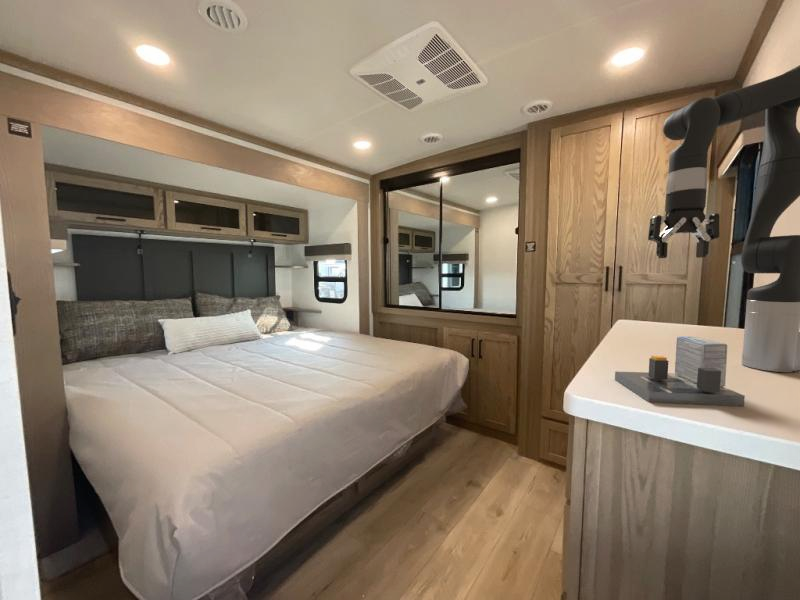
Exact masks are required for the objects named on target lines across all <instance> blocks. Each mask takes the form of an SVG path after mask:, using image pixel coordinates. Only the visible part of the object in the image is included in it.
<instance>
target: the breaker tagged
mask: <svg viewBox="0 0 800 600" xmlns="http://www.w3.org/2000/svg"><path fill="white" fill-rule="evenodd" d="M648 360H649V361H648V373H649V375H648V376H649V377H651V378H653V379H662V380H667V377H668V373H669V360H667V357H665V356H664V355H651V357H649V359H648Z"/></svg>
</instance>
